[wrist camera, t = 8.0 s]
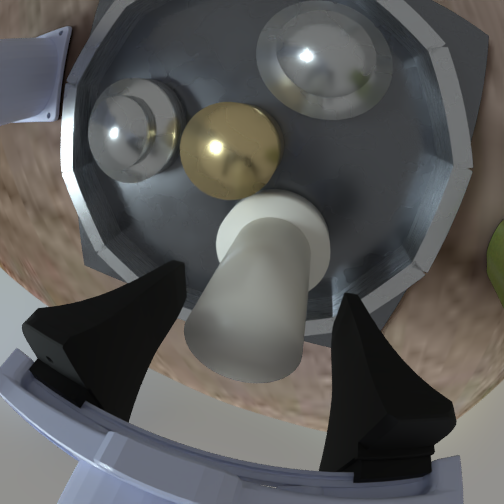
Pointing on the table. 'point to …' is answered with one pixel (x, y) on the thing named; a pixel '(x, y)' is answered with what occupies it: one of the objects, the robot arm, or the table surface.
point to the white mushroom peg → (260, 288)
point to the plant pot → (497, 261)
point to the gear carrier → (273, 135)
